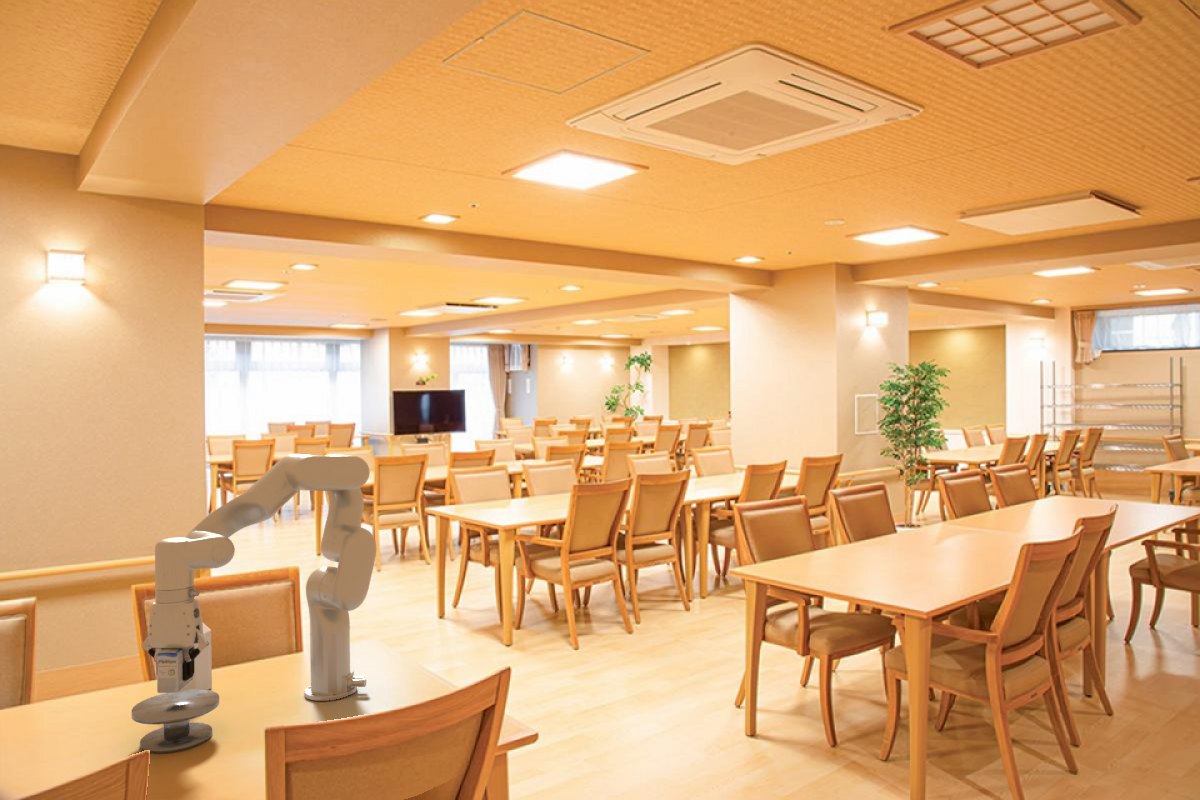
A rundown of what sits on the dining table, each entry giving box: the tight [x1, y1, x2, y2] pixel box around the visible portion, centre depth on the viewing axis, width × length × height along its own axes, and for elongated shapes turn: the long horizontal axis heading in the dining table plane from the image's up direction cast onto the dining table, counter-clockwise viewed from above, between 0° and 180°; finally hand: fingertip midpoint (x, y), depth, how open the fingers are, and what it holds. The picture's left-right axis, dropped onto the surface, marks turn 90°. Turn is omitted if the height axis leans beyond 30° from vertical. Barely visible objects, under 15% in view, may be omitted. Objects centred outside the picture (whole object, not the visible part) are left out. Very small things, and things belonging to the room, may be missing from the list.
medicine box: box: [156, 649, 193, 694], centre depth 178 cm, size 8×4×9 cm, turn 5°
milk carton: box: [180, 621, 213, 691], centre depth 207 cm, size 7×7×19 cm
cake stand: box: [131, 689, 220, 755], centre depth 178 cm, size 17×17×8 cm
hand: (175, 677), depth 178 cm, fingers closed on medicine box, 4 cm apart
